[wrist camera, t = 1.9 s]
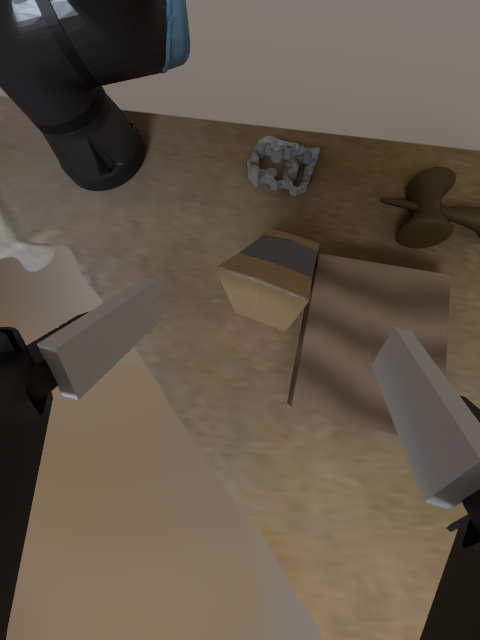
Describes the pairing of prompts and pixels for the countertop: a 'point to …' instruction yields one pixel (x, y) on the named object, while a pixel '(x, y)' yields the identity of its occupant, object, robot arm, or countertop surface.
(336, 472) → the countertop surface
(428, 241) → the kendama
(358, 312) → the walnut shelf
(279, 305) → the sandwich container
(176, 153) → the countertop surface
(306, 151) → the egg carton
